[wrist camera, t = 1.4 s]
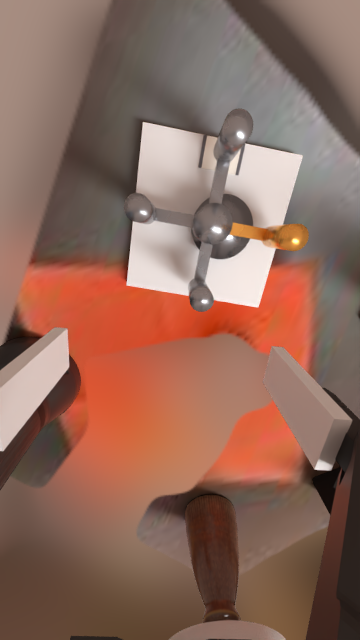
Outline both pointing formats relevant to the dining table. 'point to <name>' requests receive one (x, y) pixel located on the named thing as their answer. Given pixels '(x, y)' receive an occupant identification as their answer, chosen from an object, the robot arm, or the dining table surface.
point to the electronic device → (327, 487)
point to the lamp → (217, 572)
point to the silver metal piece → (219, 215)
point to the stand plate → (186, 196)
